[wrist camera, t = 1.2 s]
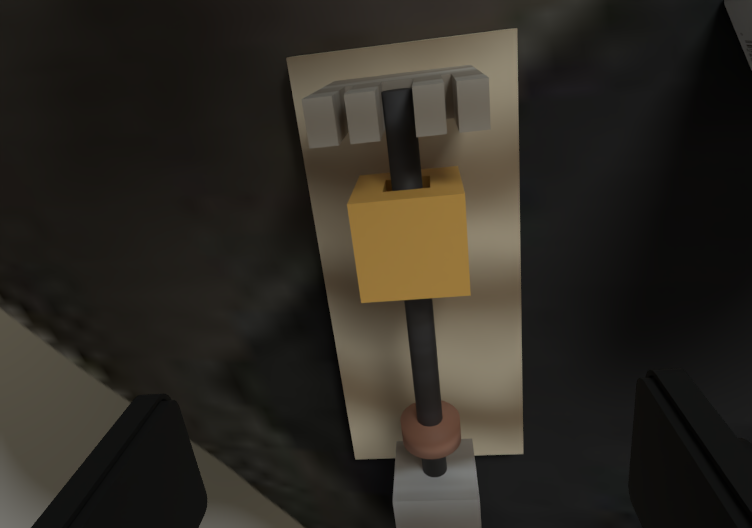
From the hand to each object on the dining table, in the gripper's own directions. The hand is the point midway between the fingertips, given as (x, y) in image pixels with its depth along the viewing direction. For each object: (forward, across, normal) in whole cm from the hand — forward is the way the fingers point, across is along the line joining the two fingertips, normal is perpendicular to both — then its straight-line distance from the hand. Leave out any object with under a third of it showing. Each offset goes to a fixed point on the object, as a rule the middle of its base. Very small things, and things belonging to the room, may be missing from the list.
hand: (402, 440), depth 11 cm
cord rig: (+18, 0, +4) cm, 18 cm away
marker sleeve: (+14, 0, 0) cm, 14 cm away
